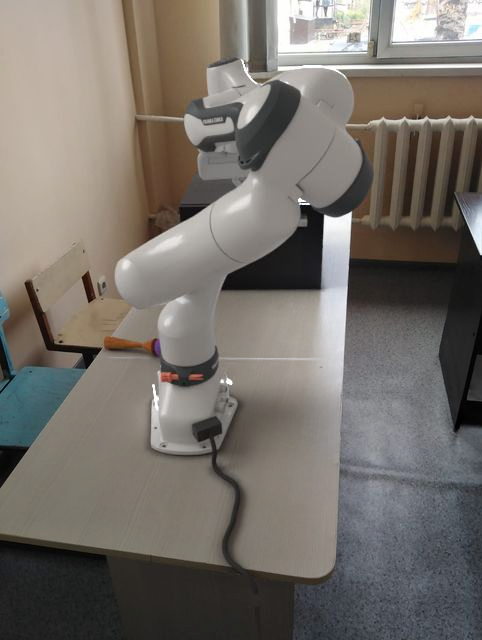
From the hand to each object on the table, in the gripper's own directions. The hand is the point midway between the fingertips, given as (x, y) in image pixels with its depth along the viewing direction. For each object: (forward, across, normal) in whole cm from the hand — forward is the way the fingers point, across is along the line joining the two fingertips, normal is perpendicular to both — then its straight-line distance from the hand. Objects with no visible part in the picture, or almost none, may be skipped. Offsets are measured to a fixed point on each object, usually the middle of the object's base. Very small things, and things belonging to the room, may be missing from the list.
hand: (245, 192), depth 131 cm
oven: (+39, +7, -25) cm, 47 cm away
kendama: (+27, +26, +29) cm, 47 cm away
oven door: (+35, +4, -6) cm, 36 cm away
